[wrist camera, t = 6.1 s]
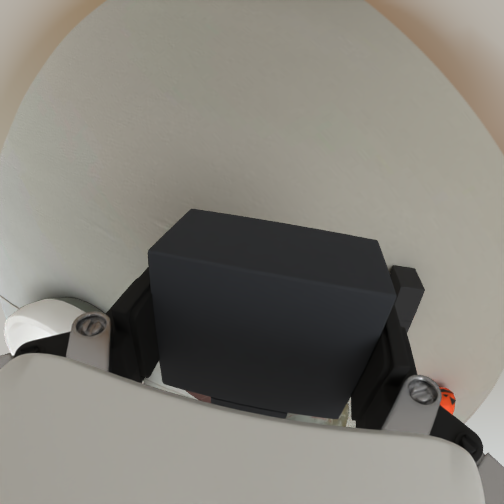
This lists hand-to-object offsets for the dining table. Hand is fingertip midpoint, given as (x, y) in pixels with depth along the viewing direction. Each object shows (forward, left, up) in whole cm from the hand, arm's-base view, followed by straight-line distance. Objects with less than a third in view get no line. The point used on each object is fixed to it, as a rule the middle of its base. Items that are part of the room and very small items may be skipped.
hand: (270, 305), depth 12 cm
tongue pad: (+1, 0, -1) cm, 2 cm away
